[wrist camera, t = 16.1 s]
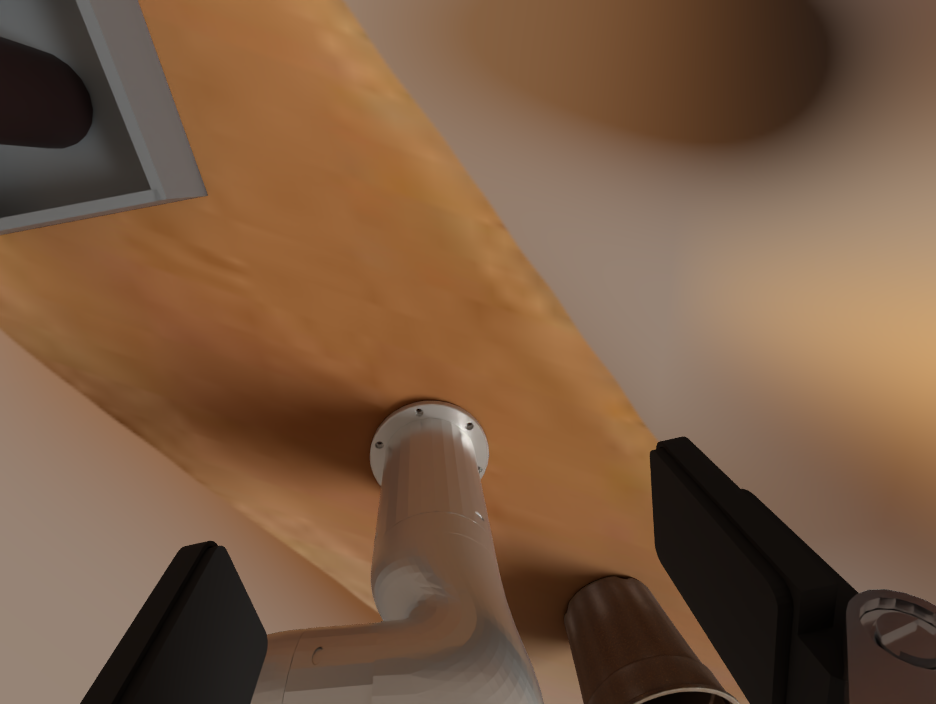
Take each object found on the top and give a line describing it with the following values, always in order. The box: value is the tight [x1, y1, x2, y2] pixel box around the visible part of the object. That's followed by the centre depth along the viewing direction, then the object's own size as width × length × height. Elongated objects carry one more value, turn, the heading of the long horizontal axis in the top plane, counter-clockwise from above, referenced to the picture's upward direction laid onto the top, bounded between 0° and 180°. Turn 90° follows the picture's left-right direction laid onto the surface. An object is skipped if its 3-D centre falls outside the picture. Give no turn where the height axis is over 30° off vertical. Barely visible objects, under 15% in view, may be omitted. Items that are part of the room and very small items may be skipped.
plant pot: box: [564, 576, 740, 704], centre depth 55 cm, size 16×16×16 cm
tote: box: [0, 0, 208, 235], centre depth 34 cm, size 18×18×7 cm
